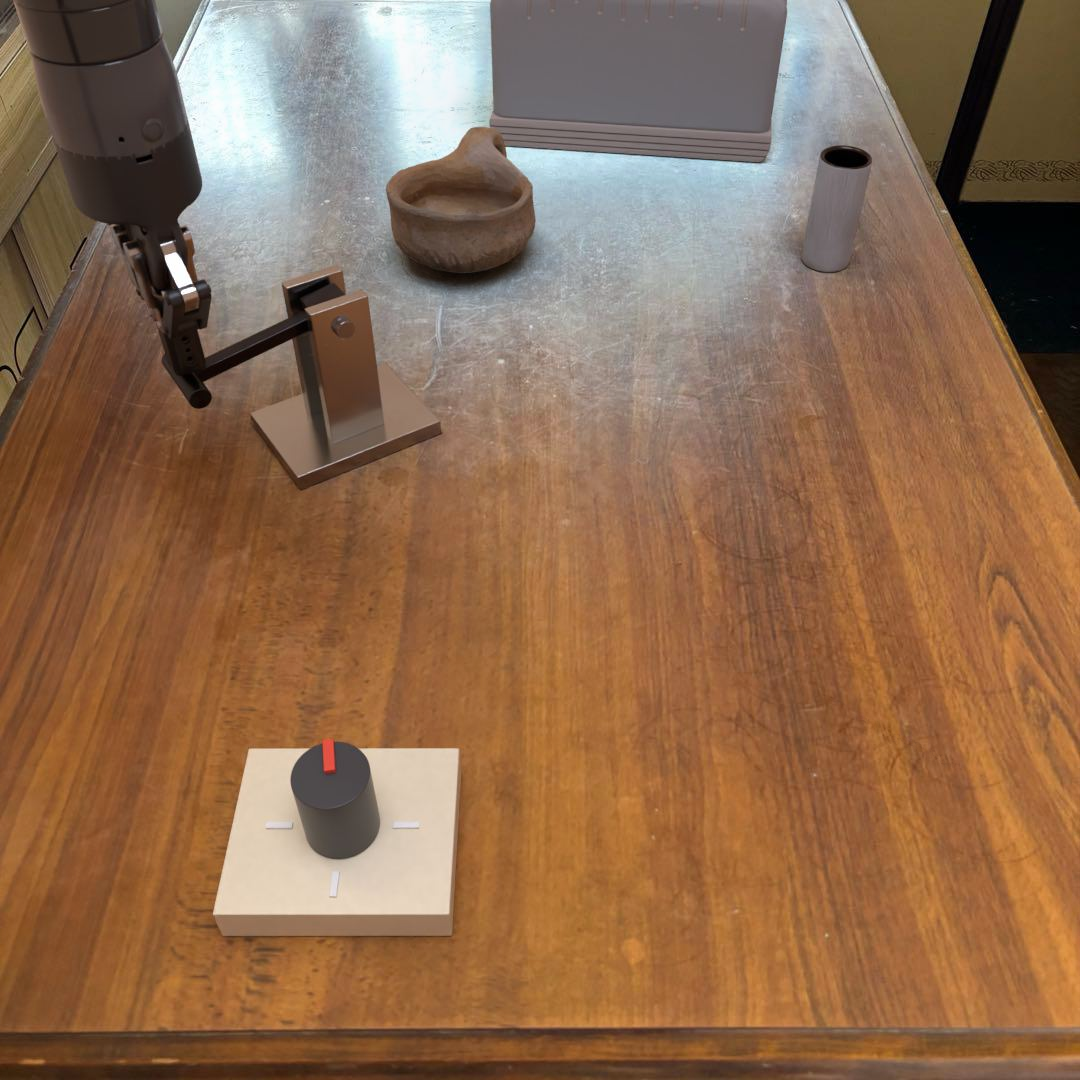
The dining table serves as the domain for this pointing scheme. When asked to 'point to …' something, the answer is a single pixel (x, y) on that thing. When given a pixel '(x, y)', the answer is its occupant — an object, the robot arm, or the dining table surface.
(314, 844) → the dial
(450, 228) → the bowl
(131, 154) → the robot arm
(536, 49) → the toaster
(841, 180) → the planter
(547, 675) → the dining table surface
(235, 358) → the lever
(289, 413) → the bracket
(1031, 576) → the dining table surface
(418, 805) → the dial panel
